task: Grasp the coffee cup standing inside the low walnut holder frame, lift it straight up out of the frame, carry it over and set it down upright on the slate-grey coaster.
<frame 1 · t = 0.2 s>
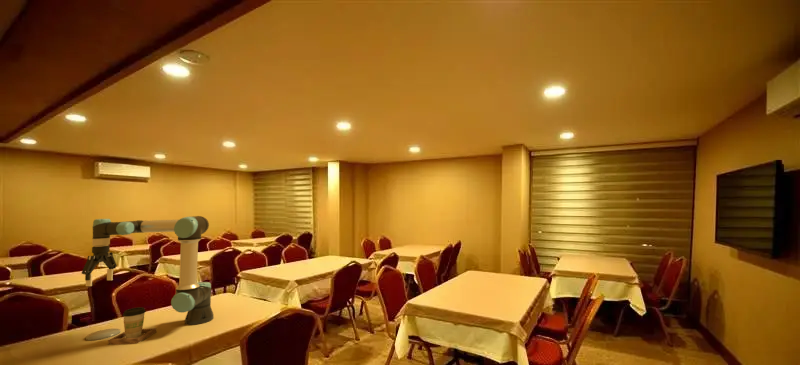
hand: (99, 283, 187), 28 cm above the table, fingers open, 13 cm apart
coffee cup: (133, 338, 177), resting in holder
coaster: (103, 335, 182), on the table
holder: (133, 338, 177), on the table
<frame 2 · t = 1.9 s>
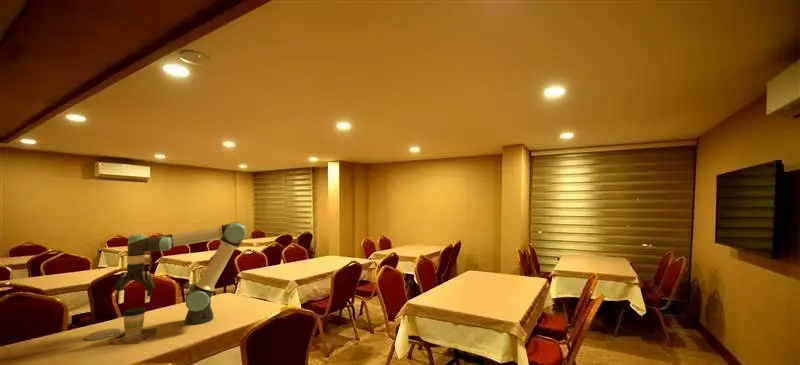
hand: (134, 302, 178), 19 cm above the table, fingers open, 13 cm apart
nothing on the table moved.
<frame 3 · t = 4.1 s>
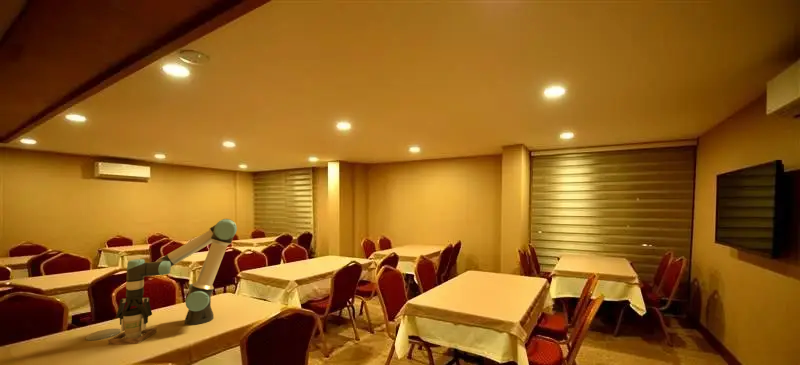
hand: (133, 330, 177), 4 cm above the table, fingers closed on coffee cup, 10 cm apart
coffee cup: (133, 338, 177), resting in holder, touching gripper
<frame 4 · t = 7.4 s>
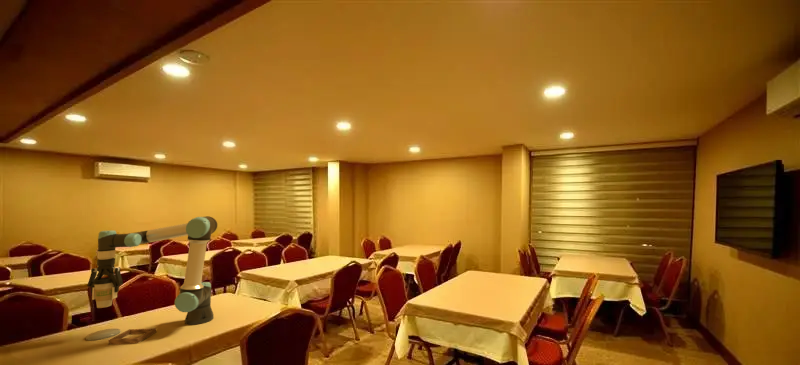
hand: (104, 298, 183), 20 cm above the table, fingers closed on coffee cup, 10 cm apart
coffee cup: (104, 306, 183), point 16 cm above the table, touching gripper
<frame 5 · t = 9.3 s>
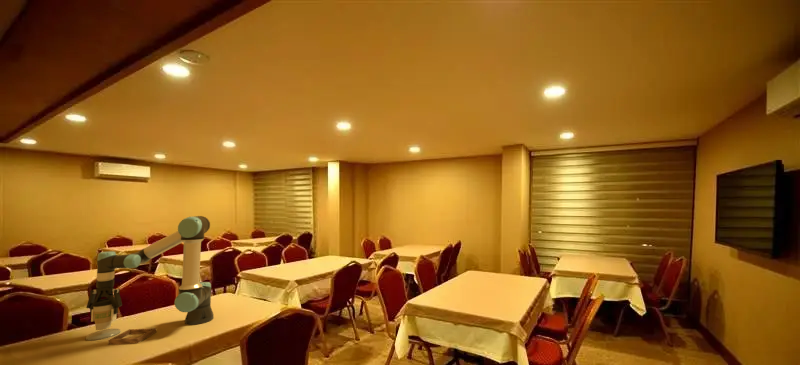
hand: (103, 320, 182), 8 cm above the table, fingers closed on coffee cup, 10 cm apart
coffee cup: (103, 328, 182), point 4 cm above the table, touching gripper
when the fingers open (6 cm above the table, at t = 10.7 s): coffee cup stays where it is, resting on coaster.
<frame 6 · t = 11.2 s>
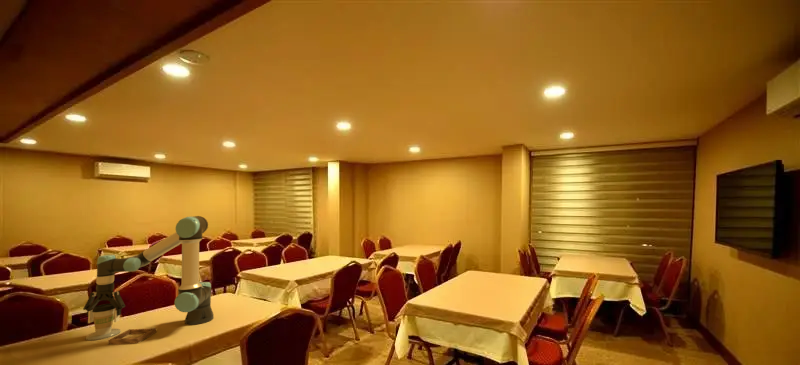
hand: (103, 321, 182), 7 cm above the table, fingers open, 13 cm apart
coffee cup: (103, 333, 182), point 1 cm above the table, touching coaster
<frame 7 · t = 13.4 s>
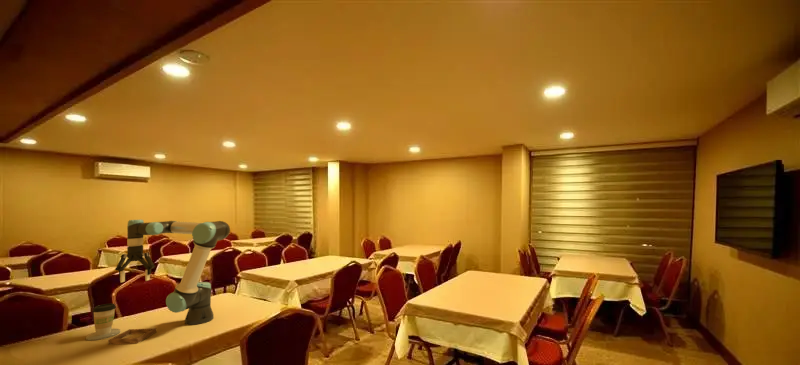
hand: (135, 281, 195), 27 cm above the table, fingers open, 13 cm apart
nothing on the table moved.
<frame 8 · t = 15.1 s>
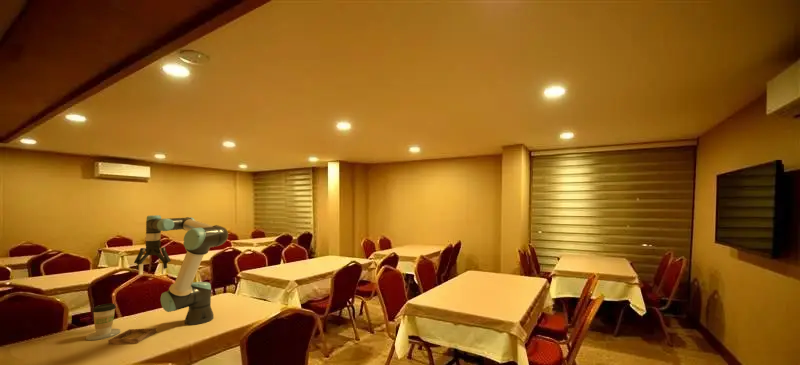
hand: (152, 274, 204), 29 cm above the table, fingers open, 13 cm apart
nothing on the table moved.
at the end: coffee cup 0.0 cm from the coaster (horizontally); coffee cup tilted 0°; coffee cup touching coaster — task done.
